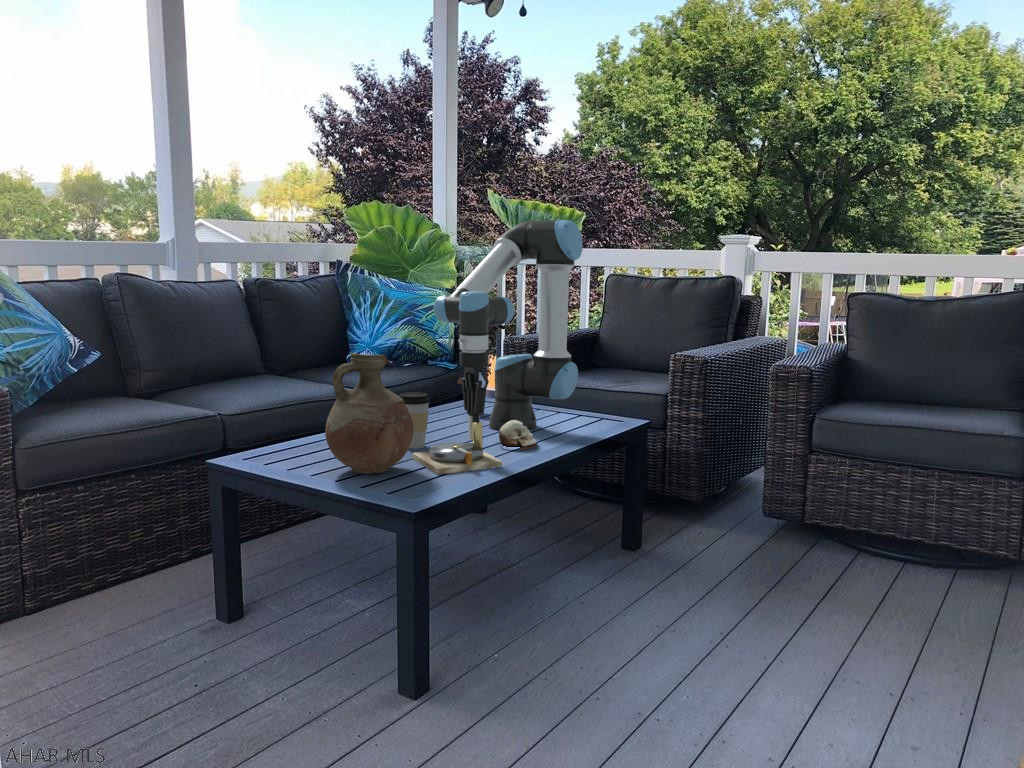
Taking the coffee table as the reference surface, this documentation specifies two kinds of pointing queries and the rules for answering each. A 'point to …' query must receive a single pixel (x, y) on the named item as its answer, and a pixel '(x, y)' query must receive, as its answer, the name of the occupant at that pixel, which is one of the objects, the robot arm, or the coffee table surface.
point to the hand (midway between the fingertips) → (474, 438)
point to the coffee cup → (417, 416)
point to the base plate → (450, 467)
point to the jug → (367, 419)
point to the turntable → (459, 448)
